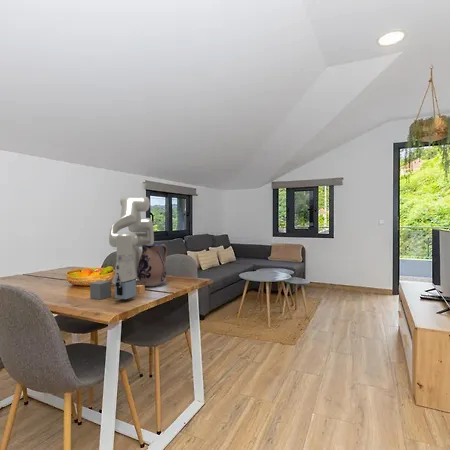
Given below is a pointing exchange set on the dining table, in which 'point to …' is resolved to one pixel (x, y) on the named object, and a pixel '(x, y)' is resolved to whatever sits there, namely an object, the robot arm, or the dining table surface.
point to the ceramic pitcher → (152, 265)
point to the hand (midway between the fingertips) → (125, 293)
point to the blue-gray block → (127, 289)
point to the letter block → (140, 289)
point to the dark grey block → (100, 290)
